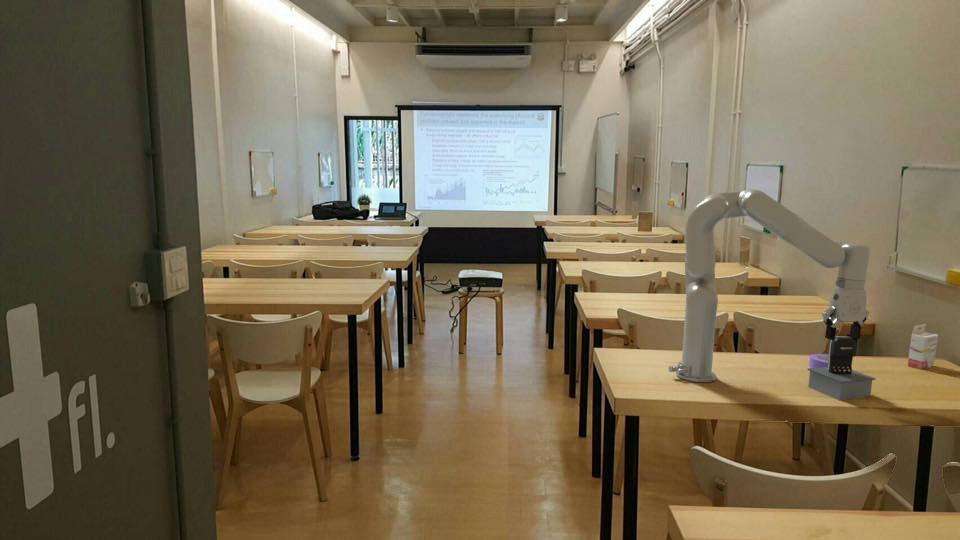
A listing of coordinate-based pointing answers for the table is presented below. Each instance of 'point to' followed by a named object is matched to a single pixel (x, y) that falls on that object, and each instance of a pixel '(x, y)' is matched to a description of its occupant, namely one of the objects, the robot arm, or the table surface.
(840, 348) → the battery charger
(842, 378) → the stand
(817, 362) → the masking tape
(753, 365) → the table surface
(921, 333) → the ink cartridge box
